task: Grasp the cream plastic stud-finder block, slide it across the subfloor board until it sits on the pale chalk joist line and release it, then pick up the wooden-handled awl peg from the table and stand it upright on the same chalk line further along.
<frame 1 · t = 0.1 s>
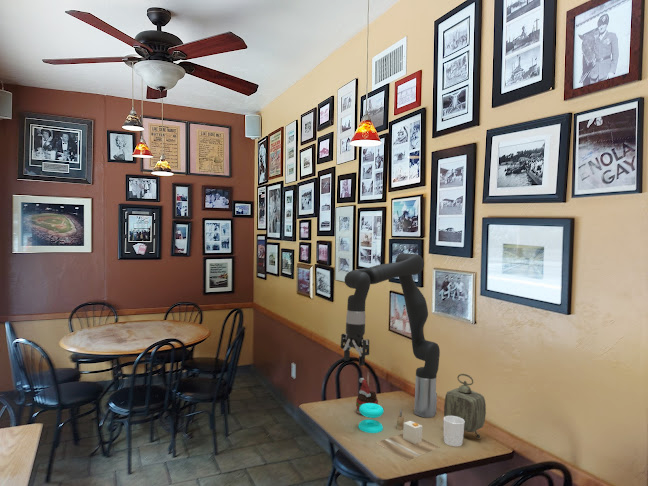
hand: (353, 363, 173), 29 cm above the table, fingers open, 8 cm apart
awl: (399, 431, 181), on the table
tabletop clock: (462, 436, 179), on the table
subfloor board: (407, 448, 166), on the table
stud finder: (412, 439, 170), point 1 cm above the table, touching subfloor board
cake: (366, 413, 199), on the table
donuts: (370, 431, 180), on the table
white cup: (452, 446, 170), on the table
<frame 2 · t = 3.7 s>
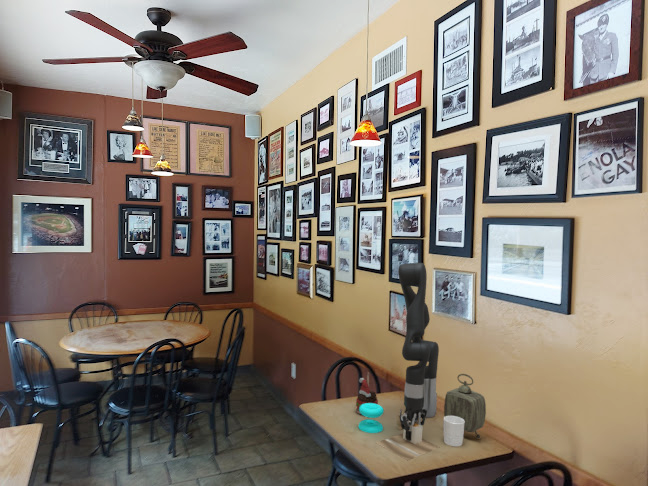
hand: (412, 438, 170), 2 cm above the table, fingers closed on stud finder, 4 cm apart
stud finder: (412, 439, 170), point 1 cm above the table, touching gripper, subfloor board
everything else where it was.
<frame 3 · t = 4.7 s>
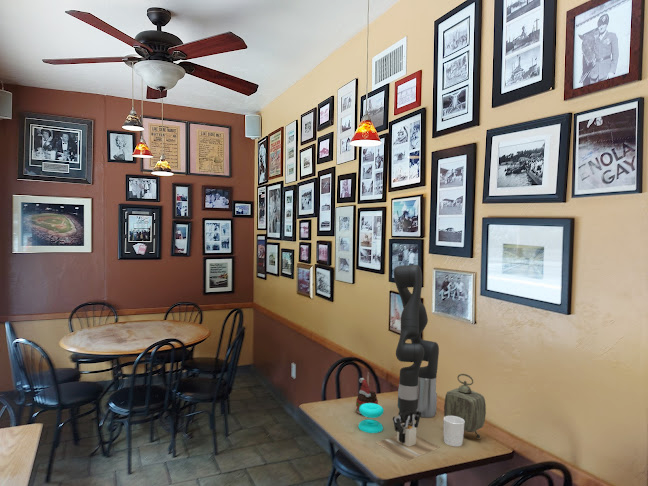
hand: (406, 440, 168), 2 cm above the table, fingers closed on stud finder, 4 cm apart
stud finder: (406, 442, 168), point 1 cm above the table, touching gripper
everything else where it was.
when the fingers open (2 cm above the table, at t = 5.8 s): stud finder stays where it is, resting on subfloor board.
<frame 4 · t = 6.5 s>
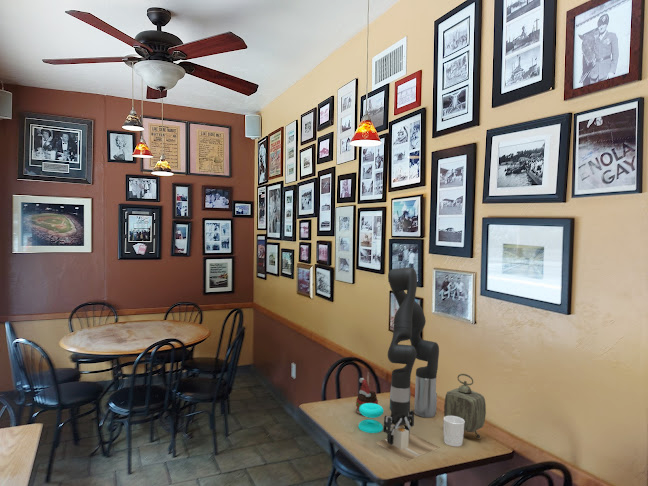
hand: (398, 441, 165), 3 cm above the table, fingers open, 8 cm apart
stud finder: (398, 445, 165), point 1 cm above the table, touching subfloor board
everything else where it was.
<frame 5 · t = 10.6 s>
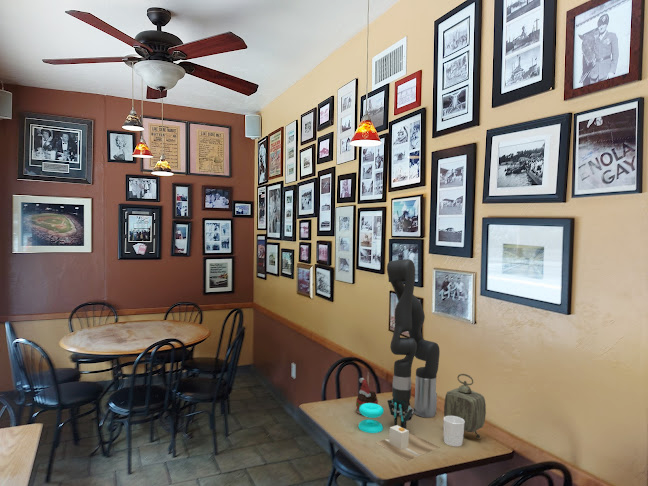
hand: (400, 428, 181), 1 cm above the table, fingers closed on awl, 2 cm apart
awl: (400, 431, 181), on the table, touching gripper
everything else where it was.
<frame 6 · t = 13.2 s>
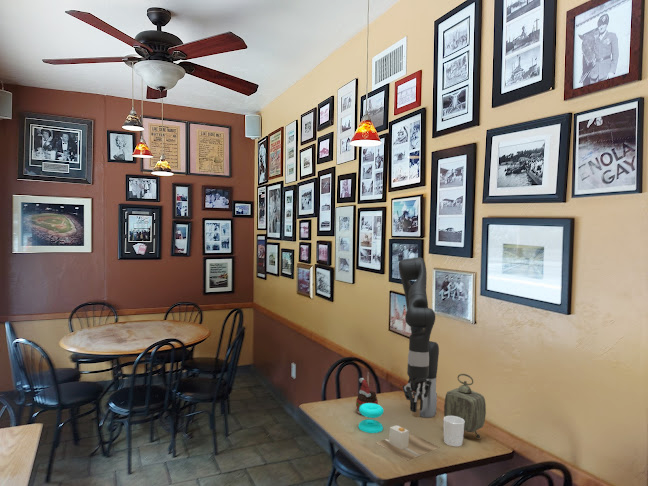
hand: (416, 410, 159), 17 cm above the table, fingers closed on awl, 2 cm apart
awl: (415, 415, 159), point 15 cm above the table, touching gripper
everything else where it was.
when the fingers open (3 cm above the table, at t = 15.8 s): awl stays where it is, resting on subfloor board.
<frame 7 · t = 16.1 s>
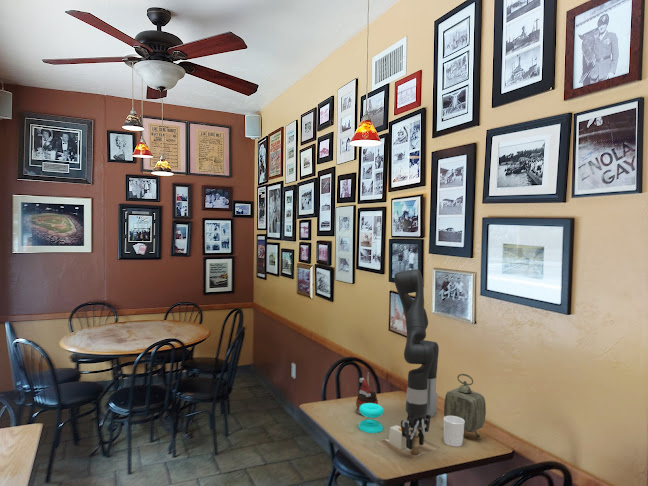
hand: (414, 446, 159), 4 cm above the table, fingers open, 5 cm apart
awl: (414, 453, 159), point 1 cm above the table, touching subfloor board
everything else where it was.
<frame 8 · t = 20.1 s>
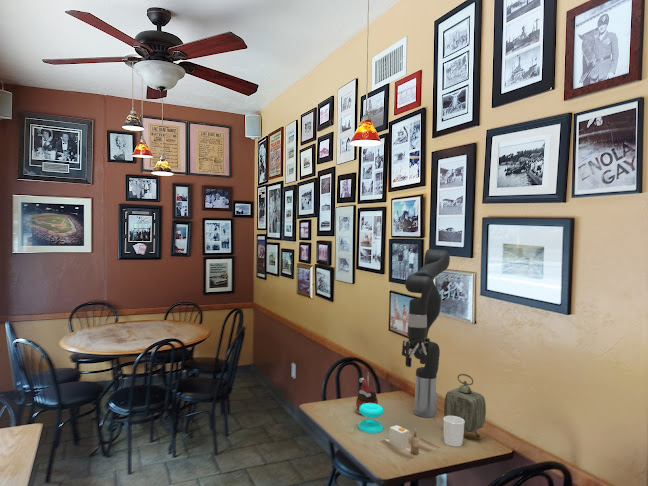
hand: (415, 365, 178), 28 cm above the table, fingers open, 8 cm apart
nothing on the table moved.
at the end: stud finder 0.1 cm from the target spot on the subfloor board, point 1.2 cm above the subfloor board's base; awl 0.1 cm from the target spot on the subfloor board, point 1.2 cm above the subfloor board's base; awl tilted 0° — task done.
